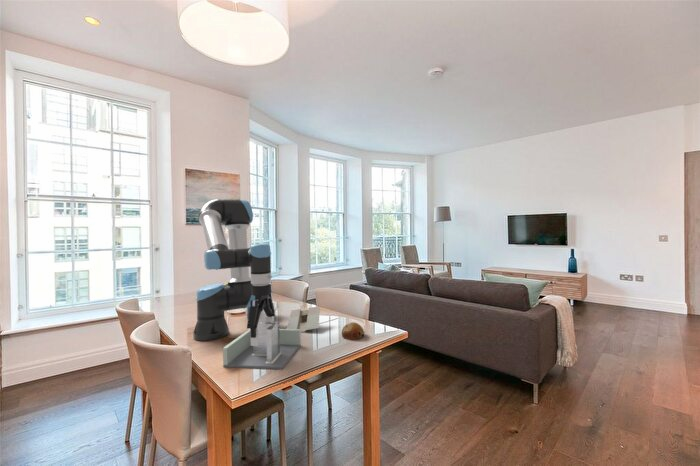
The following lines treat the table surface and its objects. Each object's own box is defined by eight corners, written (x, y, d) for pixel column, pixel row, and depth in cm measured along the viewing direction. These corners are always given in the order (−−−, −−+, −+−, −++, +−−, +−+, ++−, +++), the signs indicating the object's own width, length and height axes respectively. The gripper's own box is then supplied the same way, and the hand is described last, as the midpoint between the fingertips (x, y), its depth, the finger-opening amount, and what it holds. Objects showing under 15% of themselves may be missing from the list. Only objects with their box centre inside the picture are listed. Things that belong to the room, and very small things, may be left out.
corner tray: (223, 366, 109) (222, 348, 109) (251, 343, 131) (250, 328, 131) (282, 369, 106) (281, 350, 106) (300, 345, 128) (300, 329, 128)
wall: (323, 337, 149) (323, 311, 160) (319, 328, 143) (319, 301, 154) (291, 342, 150) (293, 315, 161) (285, 333, 144) (288, 306, 156)
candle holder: (264, 330, 149) (263, 305, 149) (250, 327, 154) (250, 303, 154) (279, 324, 157) (278, 301, 157) (265, 322, 162) (265, 299, 162)
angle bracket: (279, 353, 118) (279, 322, 118) (271, 362, 110) (271, 329, 110) (255, 352, 119) (254, 322, 119) (245, 361, 111) (244, 328, 111)
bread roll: (356, 339, 144) (350, 322, 146) (370, 334, 137) (364, 317, 140) (340, 345, 137) (335, 327, 139) (355, 340, 130) (349, 322, 133)
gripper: (256, 290, 105) (257, 352, 105) (281, 278, 130) (283, 328, 130) (235, 290, 106) (237, 351, 106) (265, 278, 131) (266, 328, 131)
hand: (262, 338), depth 118 cm, fingers open, 13 cm apart
